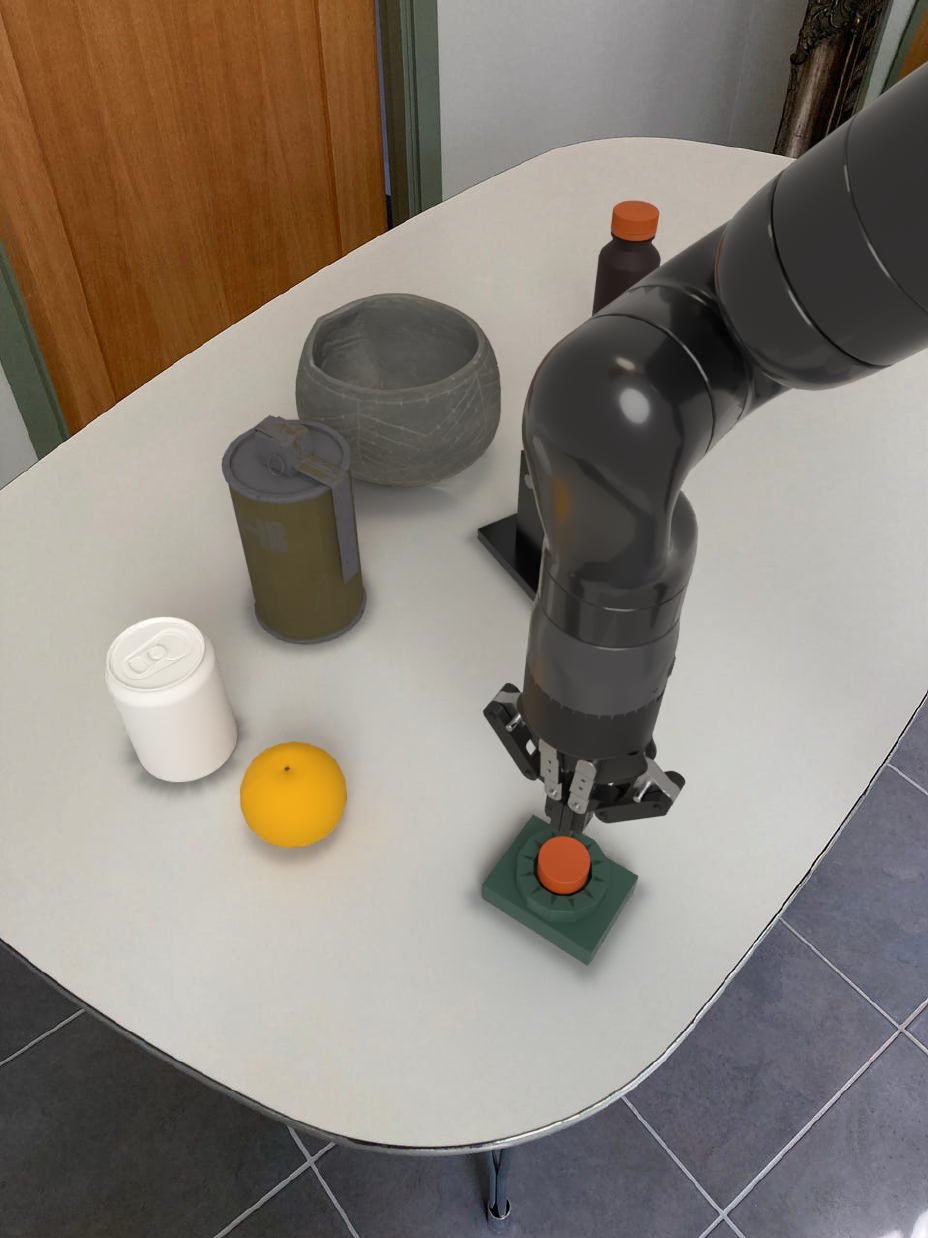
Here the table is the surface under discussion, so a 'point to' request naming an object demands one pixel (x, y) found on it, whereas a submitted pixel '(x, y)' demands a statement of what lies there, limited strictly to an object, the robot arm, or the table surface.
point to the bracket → (518, 537)
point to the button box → (559, 916)
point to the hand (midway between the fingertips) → (567, 822)
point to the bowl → (402, 387)
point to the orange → (293, 794)
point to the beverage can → (171, 698)
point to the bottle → (626, 251)
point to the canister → (297, 527)
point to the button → (563, 865)
